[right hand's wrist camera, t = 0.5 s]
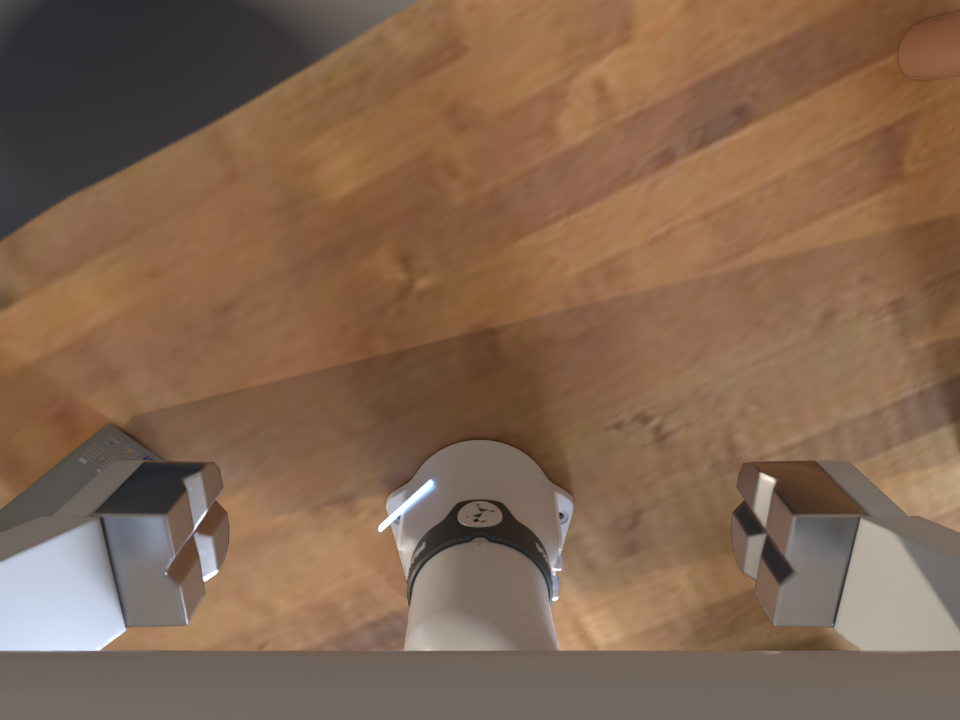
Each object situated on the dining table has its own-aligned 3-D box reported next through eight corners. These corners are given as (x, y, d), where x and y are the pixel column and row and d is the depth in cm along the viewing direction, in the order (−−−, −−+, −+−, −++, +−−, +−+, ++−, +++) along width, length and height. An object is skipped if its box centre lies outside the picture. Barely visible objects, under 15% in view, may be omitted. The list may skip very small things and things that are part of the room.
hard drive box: (108, 418, 62) (-50, 546, 44) (176, 465, 64) (52, 608, 46) (29, 521, 66) (-147, 678, 48) (95, 562, 68) (-50, 730, 50)
